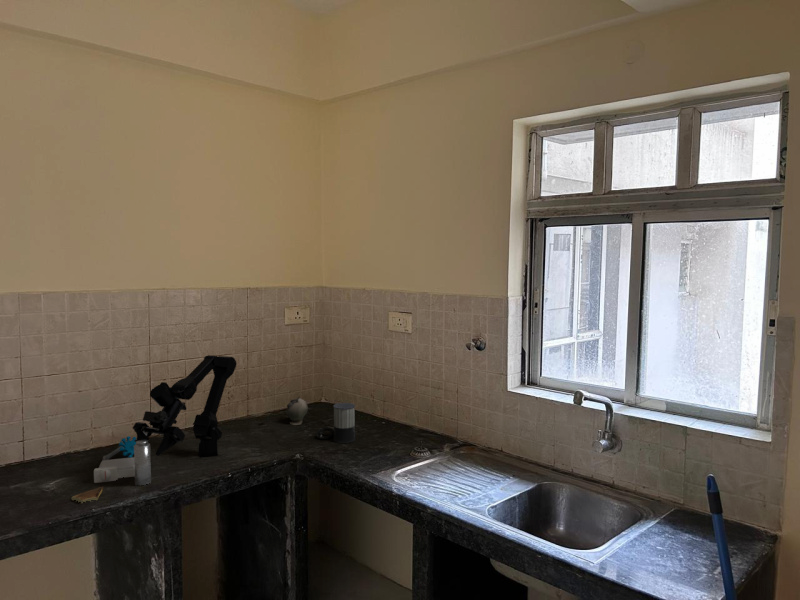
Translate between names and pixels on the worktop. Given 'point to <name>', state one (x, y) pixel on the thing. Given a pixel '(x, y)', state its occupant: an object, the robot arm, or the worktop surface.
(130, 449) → the gear
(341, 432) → the milk frother
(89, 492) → the shard
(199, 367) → the robot arm
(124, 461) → the kitchen scale
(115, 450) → the combination wrench
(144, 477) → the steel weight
